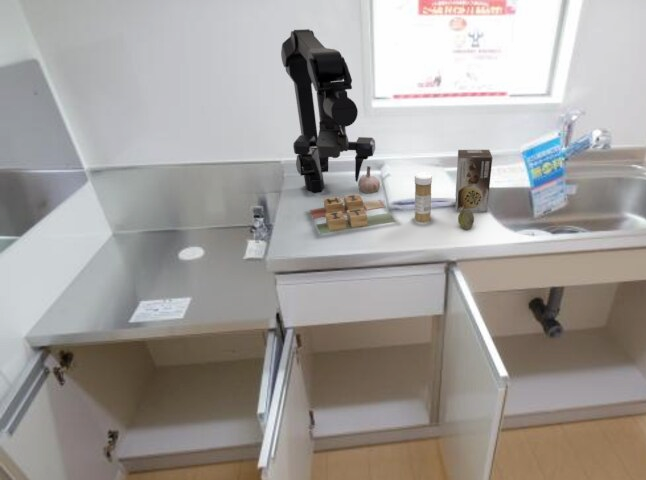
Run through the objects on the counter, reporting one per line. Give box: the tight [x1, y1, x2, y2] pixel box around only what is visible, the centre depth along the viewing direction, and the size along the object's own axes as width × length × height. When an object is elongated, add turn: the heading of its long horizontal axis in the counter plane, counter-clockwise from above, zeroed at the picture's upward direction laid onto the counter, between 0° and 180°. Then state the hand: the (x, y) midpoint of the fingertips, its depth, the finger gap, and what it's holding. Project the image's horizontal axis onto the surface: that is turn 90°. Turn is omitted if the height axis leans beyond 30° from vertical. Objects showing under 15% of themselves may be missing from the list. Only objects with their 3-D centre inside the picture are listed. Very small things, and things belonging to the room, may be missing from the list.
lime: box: [457, 209, 475, 230], centre depth 121 cm, size 4×5×5 cm
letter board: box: [309, 199, 397, 235], centre depth 125 cm, size 15×22×1 cm
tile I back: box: [343, 193, 364, 210], centre depth 128 cm, size 4×4×3 cm
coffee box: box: [454, 149, 493, 213], centre depth 127 cm, size 9×6×16 cm
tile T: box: [346, 208, 368, 228], centre depth 120 cm, size 4×4×3 cm
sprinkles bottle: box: [414, 171, 433, 223], centre depth 120 cm, size 5×5×14 cm
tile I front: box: [325, 211, 347, 231], centre depth 119 cm, size 4×4×3 cm
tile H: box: [323, 196, 344, 213], centre depth 126 cm, size 4×4×3 cm
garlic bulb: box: [357, 165, 381, 194], centre depth 138 cm, size 8×7×8 cm
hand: (338, 180), depth 112 cm, fingers open, 9 cm apart
